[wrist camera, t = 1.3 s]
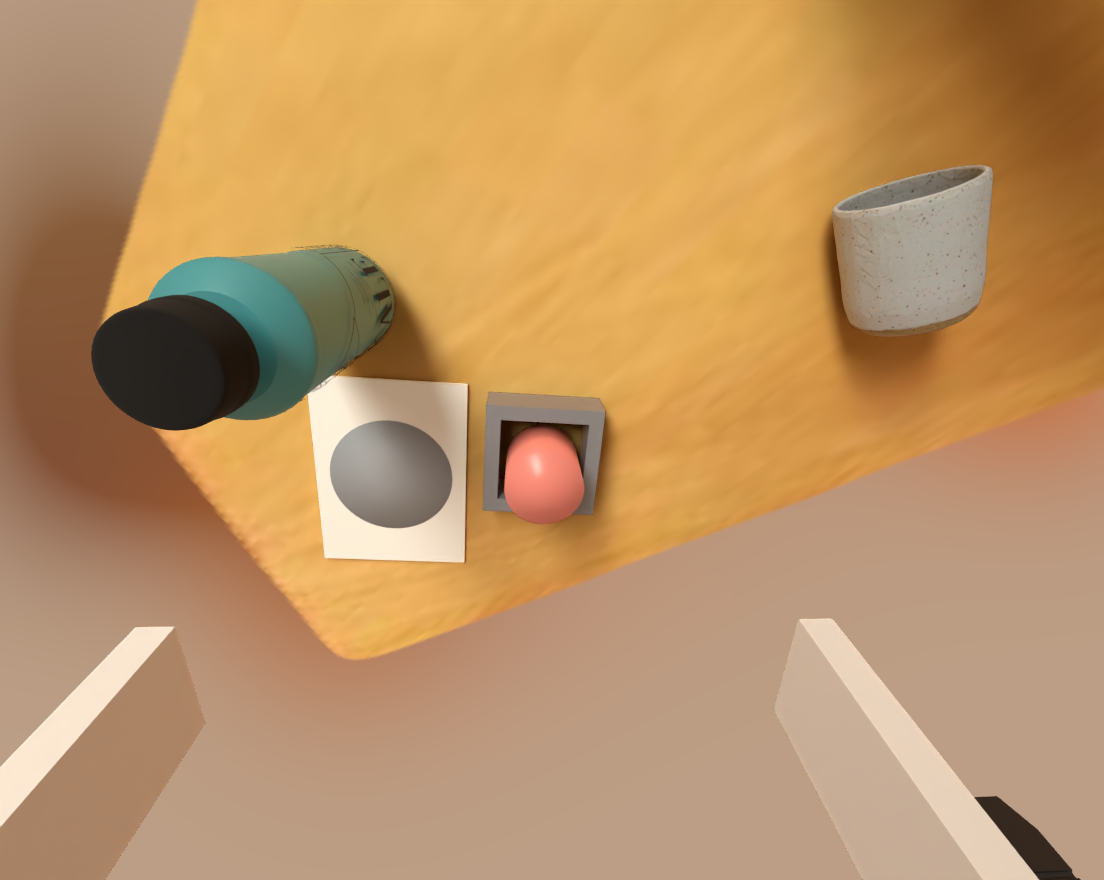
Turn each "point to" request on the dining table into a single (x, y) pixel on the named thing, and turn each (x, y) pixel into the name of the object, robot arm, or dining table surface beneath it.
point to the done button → (543, 475)
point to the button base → (550, 412)
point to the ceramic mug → (914, 251)
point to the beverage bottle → (241, 335)
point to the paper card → (391, 468)
